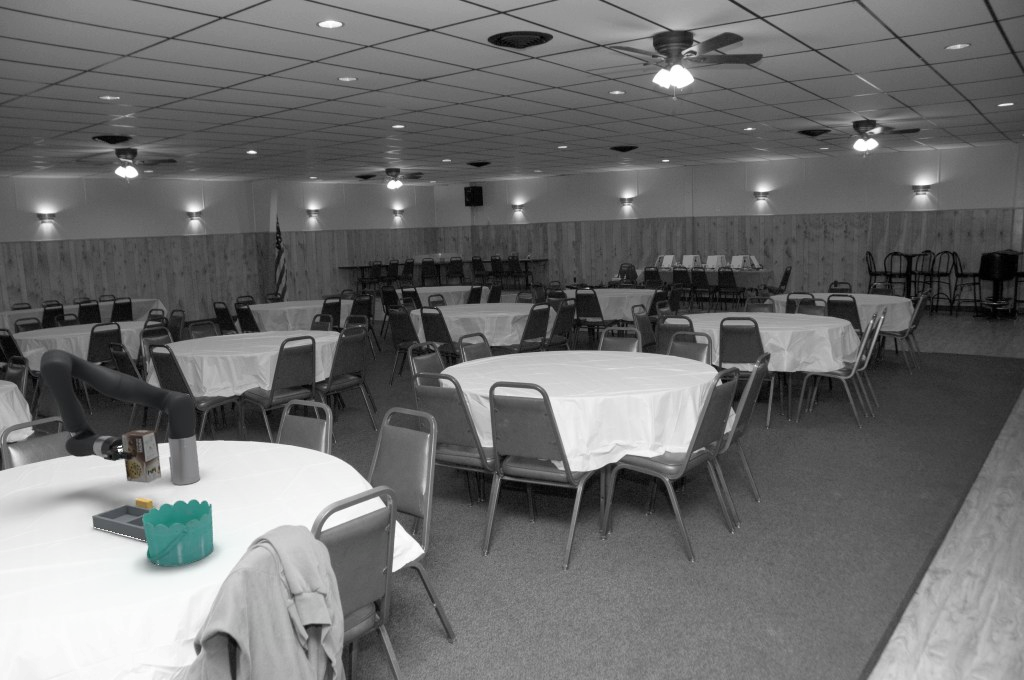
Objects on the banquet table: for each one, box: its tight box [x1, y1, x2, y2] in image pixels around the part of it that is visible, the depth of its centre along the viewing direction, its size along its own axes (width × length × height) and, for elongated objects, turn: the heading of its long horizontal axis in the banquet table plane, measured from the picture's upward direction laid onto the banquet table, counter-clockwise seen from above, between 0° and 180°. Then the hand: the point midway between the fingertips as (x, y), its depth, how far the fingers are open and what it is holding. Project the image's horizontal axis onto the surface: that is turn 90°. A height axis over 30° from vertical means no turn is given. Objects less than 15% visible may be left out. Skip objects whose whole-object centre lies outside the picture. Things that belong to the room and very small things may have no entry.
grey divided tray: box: [91, 497, 174, 541], centre depth 244 cm, size 30×14×6 cm, turn 60°
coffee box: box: [121, 429, 162, 484], centre depth 260 cm, size 9×6×16 cm
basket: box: [142, 499, 214, 567], centre depth 223 cm, size 19×18×13 cm
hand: (141, 453), depth 260 cm, fingers closed on coffee box, 7 cm apart
